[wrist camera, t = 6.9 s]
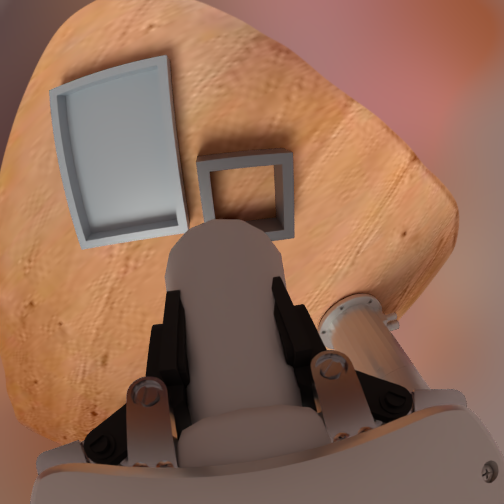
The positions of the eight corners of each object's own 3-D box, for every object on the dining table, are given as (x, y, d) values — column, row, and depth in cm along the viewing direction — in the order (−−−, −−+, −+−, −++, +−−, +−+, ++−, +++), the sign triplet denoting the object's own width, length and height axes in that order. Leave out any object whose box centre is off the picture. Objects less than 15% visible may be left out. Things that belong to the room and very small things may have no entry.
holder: (282, 147, 31) (292, 152, 28) (285, 224, 36) (294, 238, 32) (197, 156, 30) (196, 161, 27) (207, 235, 35) (208, 249, 31)
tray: (170, 60, 24) (166, 54, 21) (189, 222, 34) (188, 232, 31) (60, 91, 23) (49, 90, 20) (89, 239, 32) (81, 249, 30)
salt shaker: (277, 206, 15) (430, 435, 4) (265, 293, 18) (337, 499, 6) (167, 203, 14) (110, 488, 3) (171, 293, 16) (167, 520, 5)
